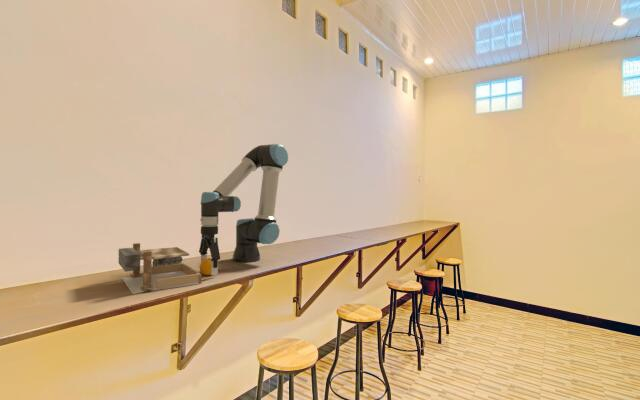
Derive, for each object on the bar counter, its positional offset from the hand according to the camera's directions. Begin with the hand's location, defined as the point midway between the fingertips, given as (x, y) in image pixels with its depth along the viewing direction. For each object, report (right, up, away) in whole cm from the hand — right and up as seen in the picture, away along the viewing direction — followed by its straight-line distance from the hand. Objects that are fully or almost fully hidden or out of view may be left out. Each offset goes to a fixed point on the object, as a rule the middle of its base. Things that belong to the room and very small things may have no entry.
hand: (208, 271), depth 154 cm
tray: (-16, -1, -14) cm, 21 cm away
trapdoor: (-18, +7, -15) cm, 24 cm away
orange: (0, -2, 0) cm, 2 cm away
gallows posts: (-21, -1, -18) cm, 28 cm away
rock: (-23, -1, +8) cm, 24 cm away
